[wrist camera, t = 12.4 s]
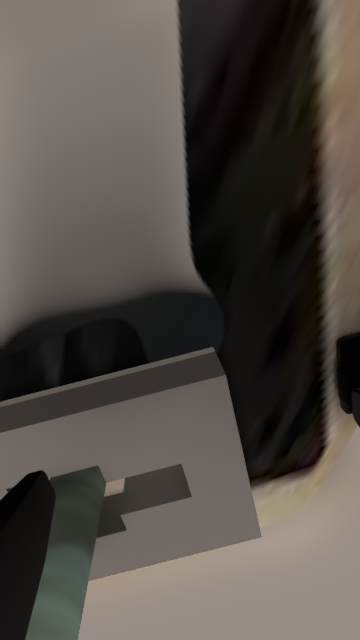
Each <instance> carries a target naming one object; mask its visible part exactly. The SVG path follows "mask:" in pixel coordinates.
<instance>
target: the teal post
mask: <svg viewBox="0 0 360 640" xmlns="http://www.w3.org/2000/svg"><path fill="white" fill-rule="evenodd" d="M50 482H51V484H52V486H53V488H54V490H55V493H56V501H55V507H54V513H53V519H52V525H51V531H50V537H49V543H48V549H47V555H46V560H45V564H44V568H43V573H42V576H41V580H40V584H39V588H38V592H37V596H36V600H35V604H34V608H33V612H32V615H31V619H30V623H29V627H28V631H27V635H26V639H25V640H77V639H78V634H79V629H80V623H81V618H82V612H83V607H84V601H85V596H86V590H87V585H88V580H89V575H90V569H91V564H92V559H93V553H94V548H95V542H96V537H97V532H98V526H99V521H100V515H101V510H102V505H103V499H104V494H105V489H106V482H105V479H104V477H103V475H102V472H101V470H100V468H99V466H94V467H90V468H86V469H82V470H78V471H74V472H70V473H67V474H63V475H59V476H55V477H51V478H50Z"/></svg>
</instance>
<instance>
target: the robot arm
mask: <svg viewBox="0 0 360 640" xmlns="http://www.w3.org/2000/svg"><path fill="white" fill-rule="evenodd" d="M346 342H347V344H346V346H344V344H345V343H346ZM343 346H344V347H343ZM337 354H338V368H337V380H338V393H339V397H340V398H341V408H342V409H343V410H344V411H345V412H346V413H347V414H352V413H353V417H354V419H355V421H356V423H357V424H358V425H359V427H360V333H357V334H353V335H350V336H346V337H342V338H340V339H339V340H338V342H337ZM348 407H349V408H348ZM55 501H56V493H55V490H54V488H53V486H52V484H51V482H50V480H49V478H48V476H47V474H46V473H45V472H44V471H43V470H39V471H35V472H31V473H28V474H27V475H26V476H25V477H24V478H22V479H21V480H20V481H19V482H18V483H17V484H16V485H15V486H14V487H13V488H12V489H11V490H10V491H9V492H8V493H7V494H6V495H5V496H4V497H3V498H2V499H1V500H0V640H25V639H26V635H27V631H28V627H29V623H30V619H31V615H32V612H33V608H34V604H35V600H36V596H37V592H38V588H39V584H40V580H41V576H42V573H43V568H44V564H45V560H46V555H47V549H48V543H49V537H50V531H51V525H52V519H53V513H54V507H55Z"/></svg>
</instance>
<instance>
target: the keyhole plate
mask: <svg viewBox="0 0 360 640" xmlns="http://www.w3.org/2000/svg"><path fill="white" fill-rule="evenodd" d="M94 466H99V468H100V470H101V472H102V475H103V477H104V479H105V482H106V489H105V494H104V499H103V505H102V510H101V515H100V521H99V526H98V532H97V537H96V542H95V548H94V553H93V559H92V564H91V569H90V575H89V580H88V581H90V580H94V579H98V578H102V577H106V576H110V575H114V574H118V573H122V572H126V571H130V570H134V569H137V568H142V567H146V566H150V565H153V564H157V563H161V562H165V561H169V560H173V559H177V558H181V557H184V556H189V555H193V554H197V553H200V552H205V551H209V550H213V549H216V548H221V547H225V546H228V545H232V544H236V543H240V542H244V541H248V540H252V539H256V538H260V537H261V532H260V527H259V523H258V518H257V514H256V509H255V505H254V500H253V496H252V491H251V487H250V482H249V478H248V473H247V469H246V464H245V460H244V455H243V451H242V446H241V442H240V437H239V432H238V428H237V423H236V419H235V414H234V410H233V405H232V401H231V396H230V392H229V387H228V383H227V378H226V374H225V372H224V370H223V368H222V365H221V363H220V361H219V359H218V357H217V354H216V352H215V350H214V348H213V347H210V348H206V349H203V350H199V351H195V352H191V353H187V354H183V355H179V356H176V357H172V358H168V359H164V360H160V361H156V362H152V363H149V364H145V365H141V366H137V367H133V368H129V369H125V370H121V371H118V372H114V373H110V374H106V375H102V376H98V377H94V378H91V379H87V380H83V381H79V382H75V383H71V384H67V385H64V386H60V387H56V388H52V389H48V390H44V391H40V392H37V393H33V394H29V395H25V396H21V397H17V398H13V399H9V400H6V401H2V402H0V500H1V499H2V498H3V497H4V496H5V495H6V494H7V493H8V492H9V491H10V490H11V489H12V488H13V487H14V486H15V485H16V484H17V483H18V482H19V481H20V480H21V479H22V478H24V477H25V476H26V475H27V474H28V473H31V472H35V471H39V470H43V471H44V472H45V473H46V474H47V476H48V478H49V480H50V478H51V477H55V476H59V475H63V474H67V473H70V472H74V471H78V470H82V469H86V468H90V467H94Z"/></svg>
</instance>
